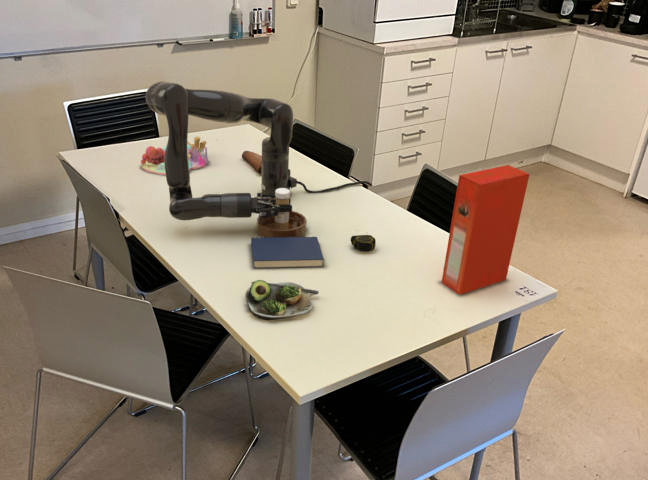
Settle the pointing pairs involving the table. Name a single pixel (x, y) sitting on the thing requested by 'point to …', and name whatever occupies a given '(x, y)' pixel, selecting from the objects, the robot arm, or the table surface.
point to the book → (286, 252)
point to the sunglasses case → (253, 160)
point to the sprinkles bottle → (283, 217)
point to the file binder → (483, 227)
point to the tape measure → (363, 242)
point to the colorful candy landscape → (155, 157)
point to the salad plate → (278, 300)
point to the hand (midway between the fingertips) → (290, 204)
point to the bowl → (294, 225)
